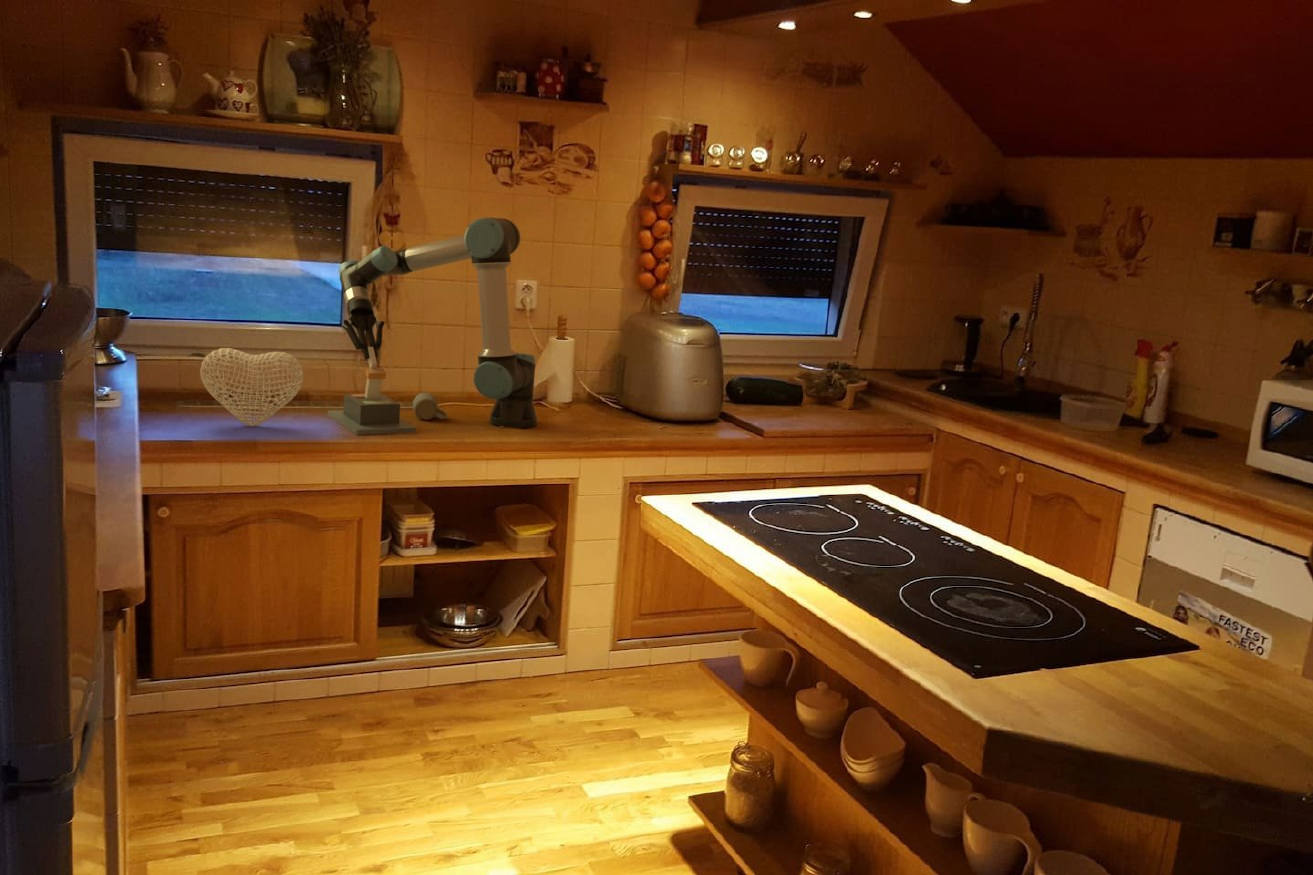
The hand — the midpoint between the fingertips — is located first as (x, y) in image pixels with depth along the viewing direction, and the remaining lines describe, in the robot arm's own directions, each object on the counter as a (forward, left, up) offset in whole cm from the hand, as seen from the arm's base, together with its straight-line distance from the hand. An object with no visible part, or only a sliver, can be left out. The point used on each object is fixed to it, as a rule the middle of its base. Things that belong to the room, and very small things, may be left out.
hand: (373, 366), depth 327 cm
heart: (+31, +15, -18) cm, 39 cm away
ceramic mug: (-14, -17, -18) cm, 29 cm away
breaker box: (+1, -2, -18) cm, 18 cm away
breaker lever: (+1, -2, -10) cm, 11 cm away
